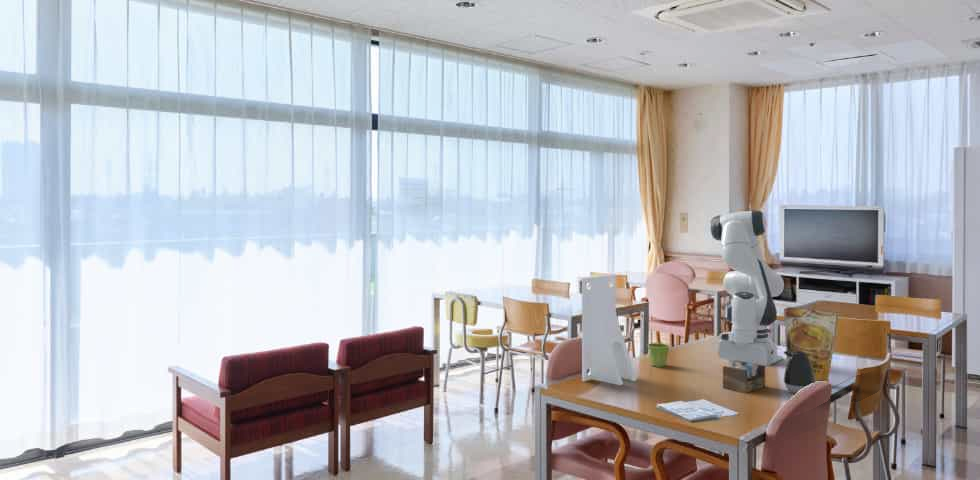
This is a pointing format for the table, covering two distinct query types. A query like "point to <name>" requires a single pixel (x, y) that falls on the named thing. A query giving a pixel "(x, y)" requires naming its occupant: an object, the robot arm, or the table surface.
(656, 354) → the plant pot
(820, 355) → the pancake mix bag
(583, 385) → the table surface
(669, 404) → the light blue flat cloth
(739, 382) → the open wooden box
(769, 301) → the robot arm
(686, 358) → the table surface
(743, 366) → the blue roll
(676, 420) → the table surface
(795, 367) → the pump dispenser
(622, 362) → the white bracket plate
